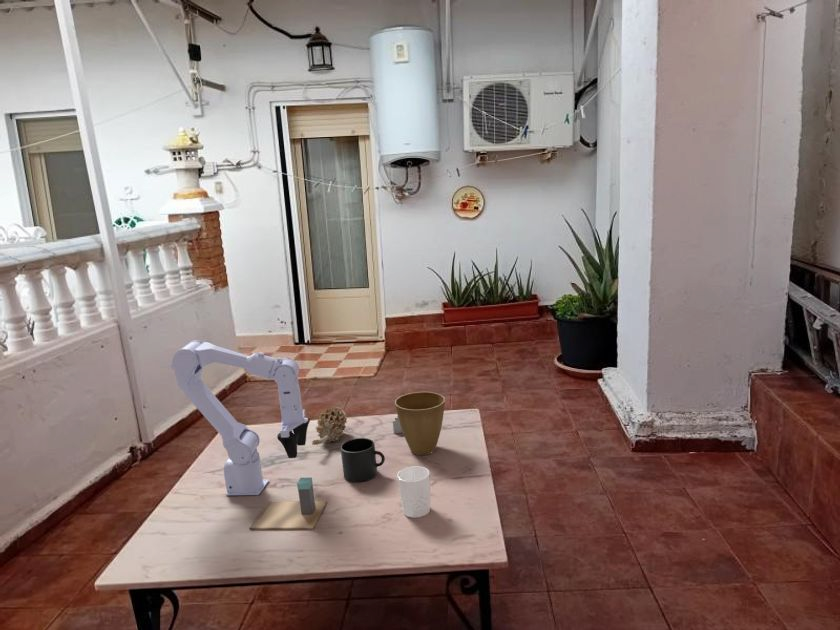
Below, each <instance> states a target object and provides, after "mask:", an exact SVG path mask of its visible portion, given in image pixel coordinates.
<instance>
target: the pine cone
mask: <svg viewBox="0 0 840 630" xmlns="http://www.w3.org/2000/svg"><path fill="white" fill-rule="evenodd" d="M346 414H347V413H346V411H344V410H342V409H341V407H338V406H335V407H334V408H333V407H330V408H329V409H325V411H322V412H321V413H320V414H319V417H318V418H319V419H317V425H316V427H315V430H316V433H318V435H317V436H318V437H319V439H313V440H312V442H311V445H321V444H323V443H324V442H325V443H328V444H329V443H330V444H331V442H332V441H333V442H337V441H339V440H340V438H339V437H341V436H343V434H344V431H345V430H346V428H347V426H346V423H347V422H348V421H347V419H348V418H347V416H346Z"/></svg>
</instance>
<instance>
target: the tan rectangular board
mask: <svg viewBox="0 0 840 630" xmlns="http://www.w3.org/2000/svg"><path fill="white" fill-rule="evenodd" d="M327 503H328V502H327V501H326V500H321V501H320V500H317V501H316V500H315V508H316V509H315V511H314V513H313V514H312V515H301V507H300V500H299V501H266V503H265V504H264V506H263V507H262V509H261V510H260V511H259V513H258V514H257V516H256V517H255V519H254V520H253V522H252V523H251V524H250V526H249V527H248V529H249V530H250V531H251V530H252V531H254V530H256V531H257V530H260V531H261V530H262V531H263V530H266V531H268V530H271V531H272V530H279V531H280V530H282V531H283V530H285V531H286V530H314V529H315V527H316V525H317V523H318V522H319V519H320V517H321V515H322V513H323V511H324V509H325V507H326V505H327Z"/></svg>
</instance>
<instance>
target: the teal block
mask: <svg viewBox="0 0 840 630" xmlns="http://www.w3.org/2000/svg"><path fill="white" fill-rule="evenodd" d="M296 486H297V490H298V498H299V499H298V500H299V501H300V507H301V515H312V514H313V513H314V511H315V509H316V508H315V501H316V500H315V493H314V487H313V486H314V484H313V477H300V478H299V479H298V481H297V482H296Z"/></svg>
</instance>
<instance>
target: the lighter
mask: <svg viewBox="0 0 840 630" xmlns="http://www.w3.org/2000/svg"><path fill="white" fill-rule="evenodd" d="M392 430H393V434H395V435H396V434H403V431H402V428H401V425H400V422H399V419H398V415H397V416H395V417H394V418H393V419H392Z"/></svg>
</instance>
